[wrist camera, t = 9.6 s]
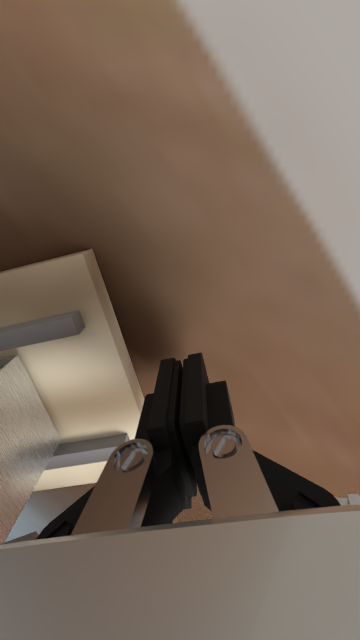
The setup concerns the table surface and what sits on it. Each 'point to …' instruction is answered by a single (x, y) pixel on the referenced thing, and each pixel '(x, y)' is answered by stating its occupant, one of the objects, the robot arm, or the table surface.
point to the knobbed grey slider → (21, 440)
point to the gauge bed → (72, 361)
